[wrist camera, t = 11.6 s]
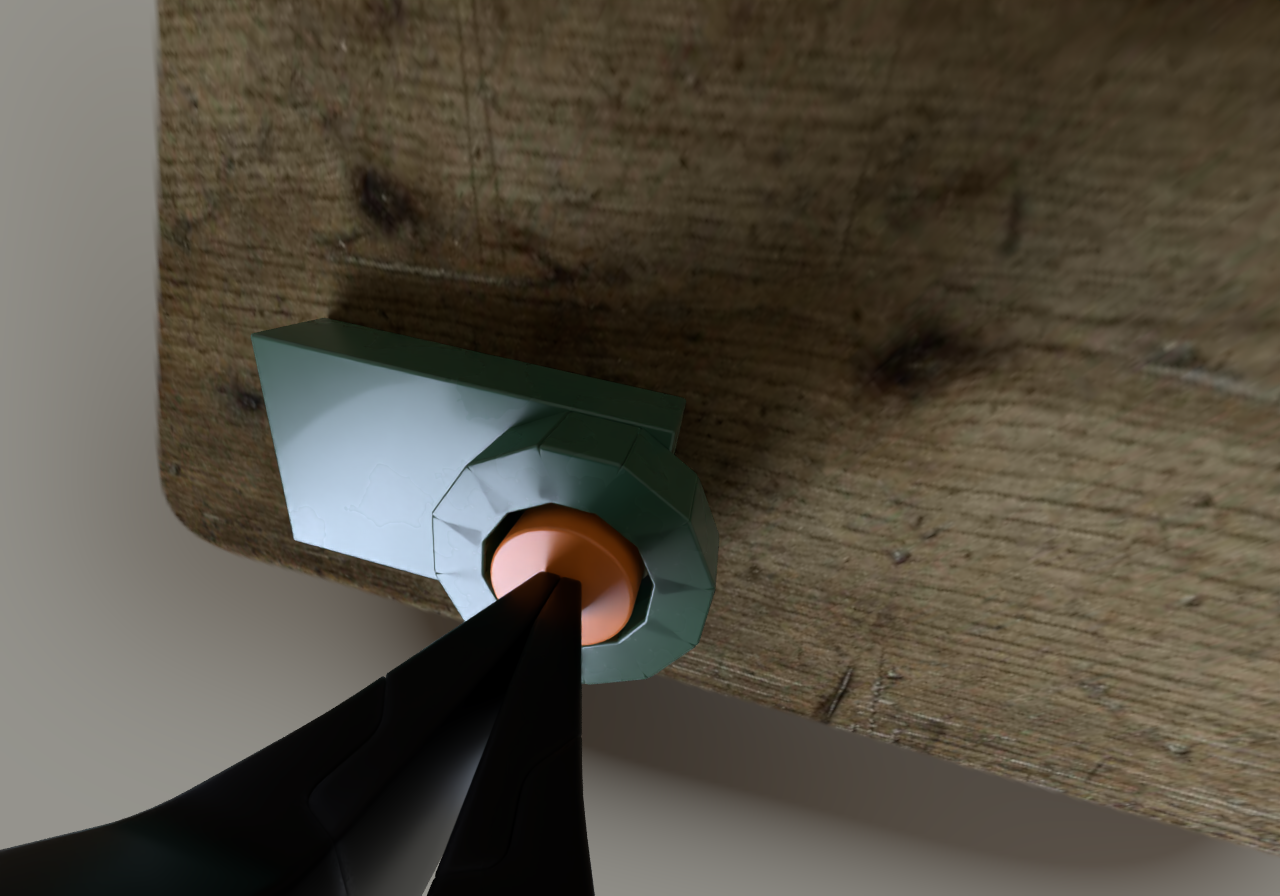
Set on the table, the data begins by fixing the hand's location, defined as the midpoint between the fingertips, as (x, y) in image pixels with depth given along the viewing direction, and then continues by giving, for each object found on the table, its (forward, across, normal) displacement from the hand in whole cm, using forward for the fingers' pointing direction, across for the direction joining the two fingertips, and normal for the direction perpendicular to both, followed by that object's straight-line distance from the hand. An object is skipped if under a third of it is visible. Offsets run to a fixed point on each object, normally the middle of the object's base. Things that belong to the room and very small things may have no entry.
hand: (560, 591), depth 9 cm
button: (+2, 0, 0) cm, 2 cm away
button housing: (+4, +4, 0) cm, 6 cm away
